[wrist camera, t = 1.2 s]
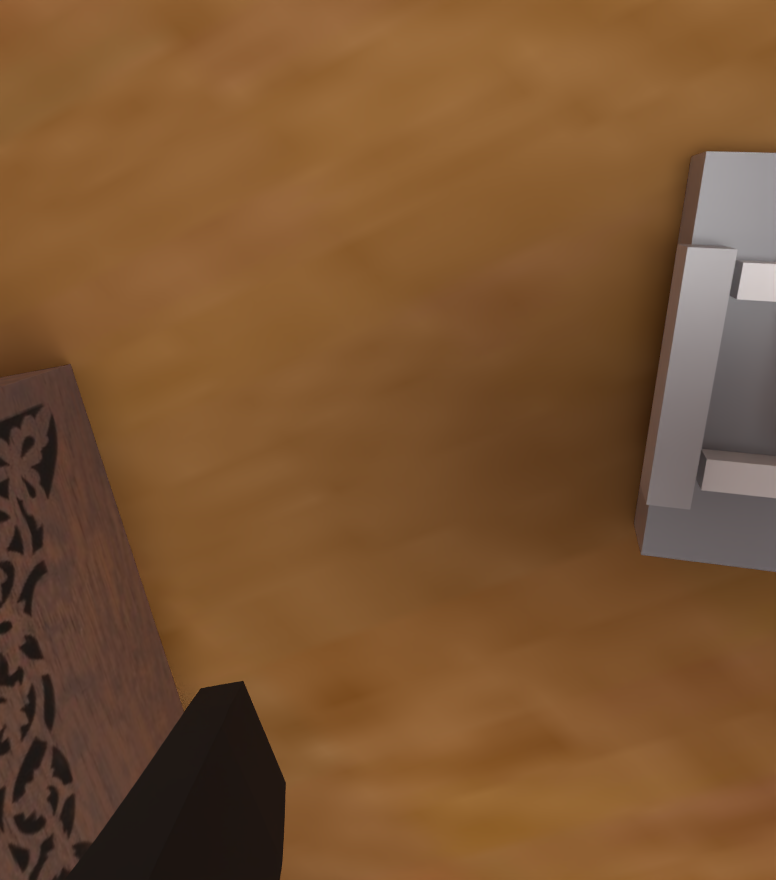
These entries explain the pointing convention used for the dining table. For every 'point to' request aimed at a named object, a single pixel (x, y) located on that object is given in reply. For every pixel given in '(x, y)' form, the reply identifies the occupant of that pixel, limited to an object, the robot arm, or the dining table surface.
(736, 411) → the grey flat railed block
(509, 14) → the dining table surface
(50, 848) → the tissue box cover
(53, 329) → the dining table surface
